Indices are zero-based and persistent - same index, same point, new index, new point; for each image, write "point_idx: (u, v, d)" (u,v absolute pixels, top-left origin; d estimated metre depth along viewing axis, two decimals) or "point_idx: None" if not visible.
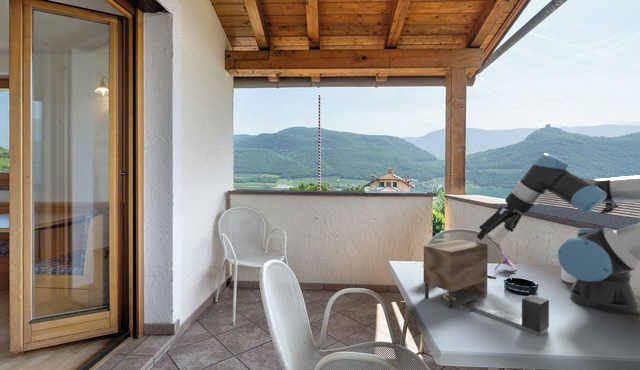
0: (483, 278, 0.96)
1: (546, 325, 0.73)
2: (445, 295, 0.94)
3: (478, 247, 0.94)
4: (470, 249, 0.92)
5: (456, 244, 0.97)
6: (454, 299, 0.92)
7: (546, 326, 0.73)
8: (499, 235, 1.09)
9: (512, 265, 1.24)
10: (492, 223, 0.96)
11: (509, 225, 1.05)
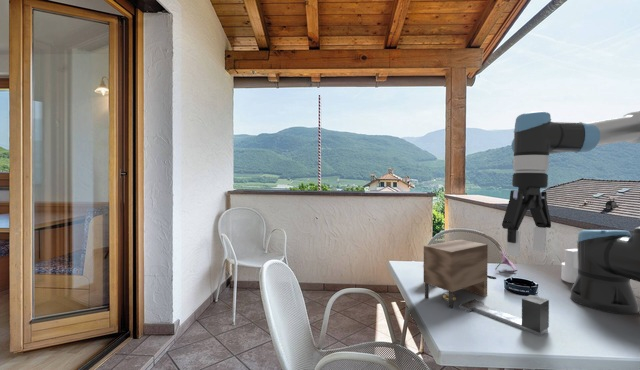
0: (483, 278, 0.96)
1: (546, 325, 0.73)
2: (445, 295, 0.94)
3: (478, 247, 0.94)
4: (470, 249, 0.92)
5: (456, 244, 0.97)
6: (454, 299, 0.92)
7: (546, 326, 0.73)
8: (538, 239, 0.80)
9: (512, 265, 1.24)
10: (514, 212, 0.71)
11: (540, 219, 0.78)
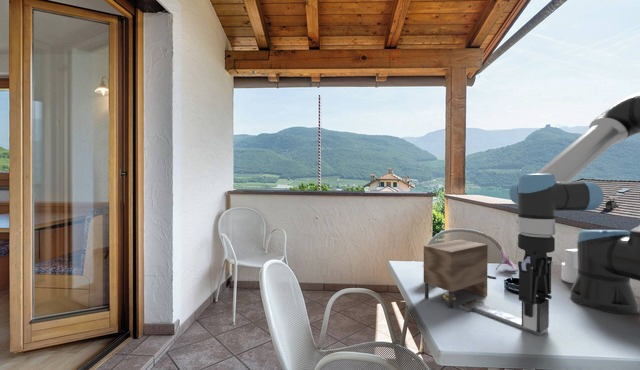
0: (483, 278, 0.96)
1: (546, 325, 0.73)
2: (445, 295, 0.94)
3: (478, 247, 0.94)
4: (470, 249, 0.92)
5: (456, 244, 0.97)
6: (454, 299, 0.92)
7: (546, 326, 0.73)
8: None
9: (513, 265, 1.24)
10: (527, 288, 0.70)
11: (542, 286, 0.75)
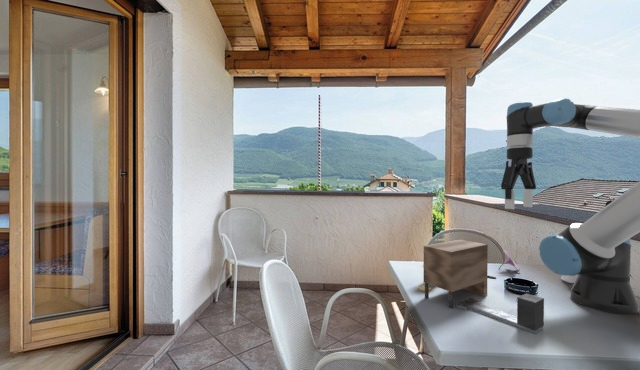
0: (483, 278, 0.96)
1: (541, 323, 0.74)
2: (421, 287, 1.02)
3: (478, 247, 0.94)
4: (470, 249, 0.92)
5: (456, 244, 0.97)
6: (429, 290, 1.00)
7: (541, 324, 0.74)
8: (527, 198, 1.06)
9: (515, 265, 1.24)
10: (509, 176, 0.97)
11: (528, 183, 1.05)
